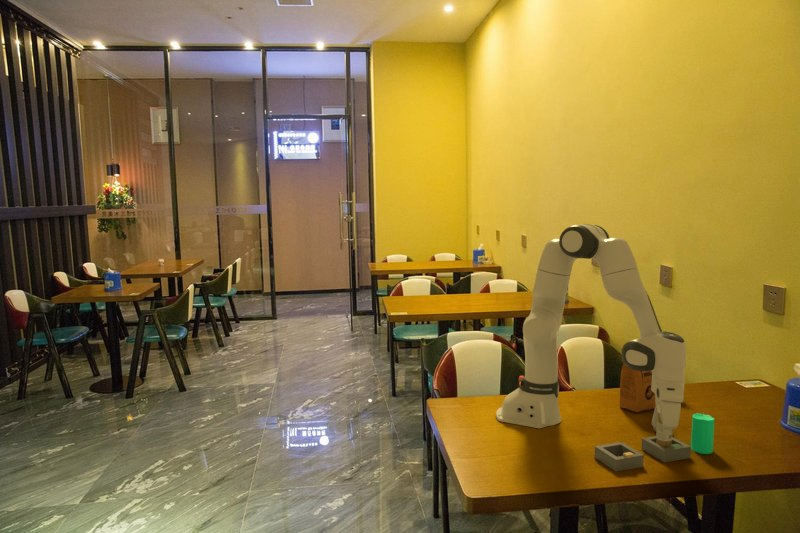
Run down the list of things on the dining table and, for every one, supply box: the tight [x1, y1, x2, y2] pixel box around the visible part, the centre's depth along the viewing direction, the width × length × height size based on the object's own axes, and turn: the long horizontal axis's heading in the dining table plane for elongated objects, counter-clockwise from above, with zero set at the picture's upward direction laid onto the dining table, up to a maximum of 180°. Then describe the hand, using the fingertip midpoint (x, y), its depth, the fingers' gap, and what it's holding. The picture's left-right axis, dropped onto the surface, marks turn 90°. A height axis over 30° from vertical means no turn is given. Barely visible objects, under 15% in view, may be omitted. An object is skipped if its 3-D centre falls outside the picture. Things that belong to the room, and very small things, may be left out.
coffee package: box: [619, 362, 656, 413], centre depth 208 cm, size 10×12×22 cm
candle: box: [690, 411, 715, 455], centre depth 173 cm, size 6×6×12 cm
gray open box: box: [594, 441, 645, 472], centre depth 166 cm, size 10×10×4 cm
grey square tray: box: [641, 435, 692, 463], centre depth 171 cm, size 10×10×4 cm
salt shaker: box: [651, 396, 658, 433], centre depth 188 cm, size 6×6×13 cm
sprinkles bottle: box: [655, 405, 674, 448], centre depth 171 cm, size 5×5×14 cm
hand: (664, 430), depth 171 cm, fingers closed on sprinkles bottle, 4 cm apart
